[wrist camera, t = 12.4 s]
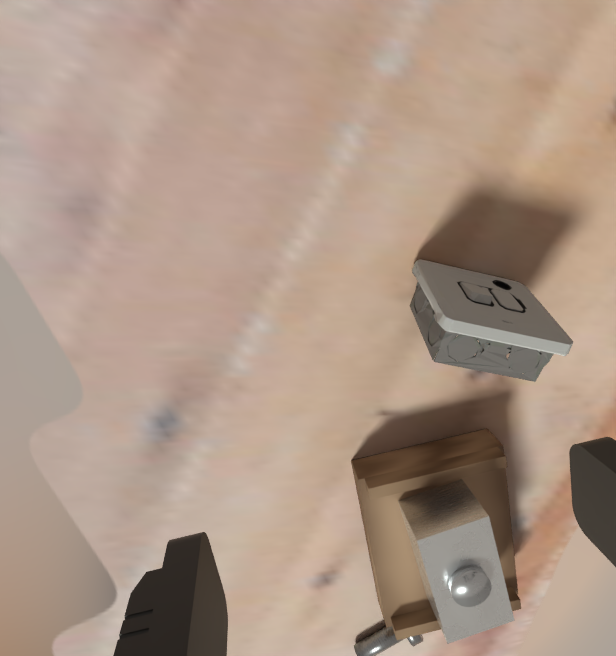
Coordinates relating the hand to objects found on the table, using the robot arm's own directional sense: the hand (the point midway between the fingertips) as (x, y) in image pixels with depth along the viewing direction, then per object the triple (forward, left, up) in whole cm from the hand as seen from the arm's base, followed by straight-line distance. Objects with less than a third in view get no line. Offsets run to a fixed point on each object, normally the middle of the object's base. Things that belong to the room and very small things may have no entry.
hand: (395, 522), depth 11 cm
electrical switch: (-13, +5, -30) cm, 33 cm away
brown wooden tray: (-8, +24, -30) cm, 39 cm away
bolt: (-2, +35, -30) cm, 46 cm away
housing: (-8, +24, -27) cm, 37 cm away
